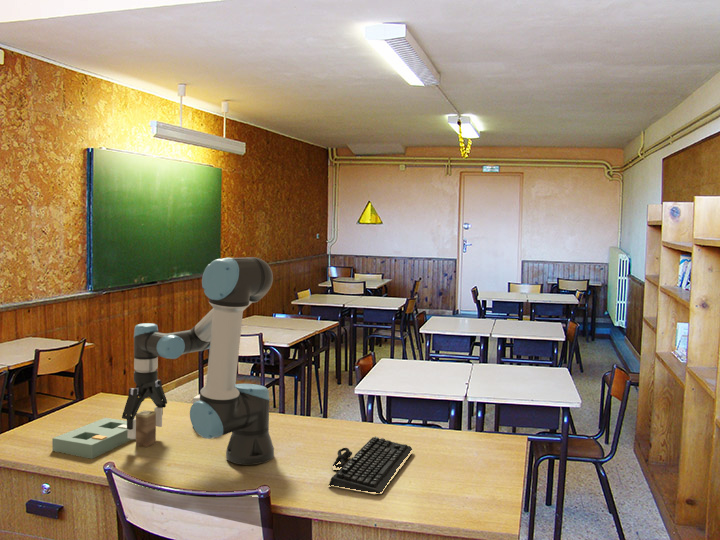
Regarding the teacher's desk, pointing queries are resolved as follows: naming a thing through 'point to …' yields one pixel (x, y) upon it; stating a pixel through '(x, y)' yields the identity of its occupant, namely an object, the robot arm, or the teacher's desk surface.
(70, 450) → the socket board
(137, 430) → the plug
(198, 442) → the teacher's desk surface
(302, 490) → the teacher's desk surface
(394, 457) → the keyboard
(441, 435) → the teacher's desk surface
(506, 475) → the teacher's desk surface
